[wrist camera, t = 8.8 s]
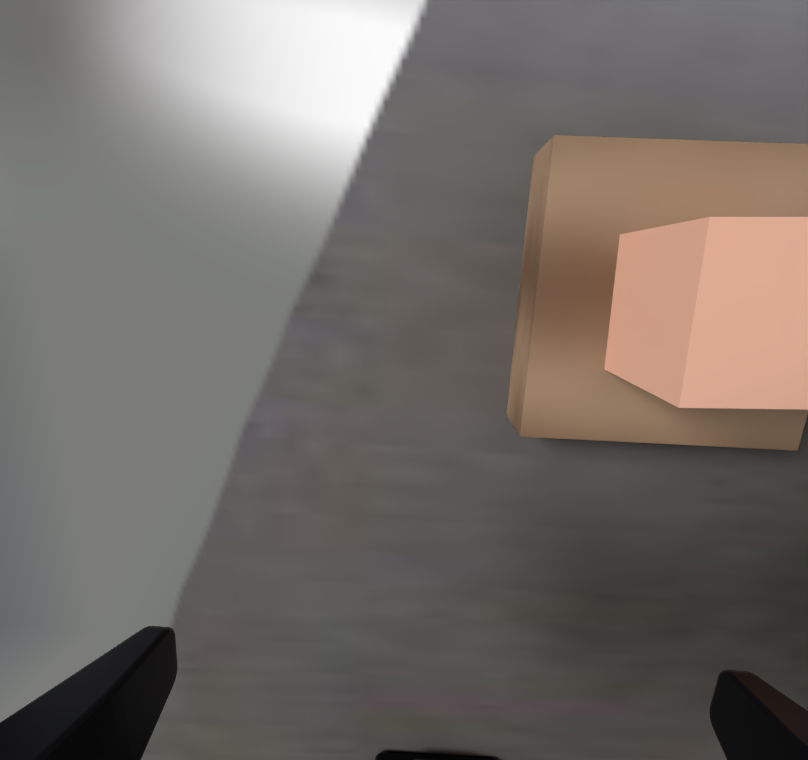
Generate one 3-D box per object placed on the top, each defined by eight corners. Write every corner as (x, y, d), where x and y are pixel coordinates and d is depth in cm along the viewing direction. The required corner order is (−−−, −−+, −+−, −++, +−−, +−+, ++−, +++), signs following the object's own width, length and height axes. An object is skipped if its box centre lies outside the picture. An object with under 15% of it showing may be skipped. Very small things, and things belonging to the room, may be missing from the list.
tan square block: (738, 422, 19) (797, 450, 16) (504, 411, 19) (520, 436, 16) (799, 169, 16) (882, 146, 13) (529, 159, 16) (553, 135, 14)
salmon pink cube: (735, 370, 15) (864, 410, 11) (604, 369, 15) (678, 407, 11) (761, 234, 14) (917, 216, 10) (619, 234, 14) (709, 216, 10)
